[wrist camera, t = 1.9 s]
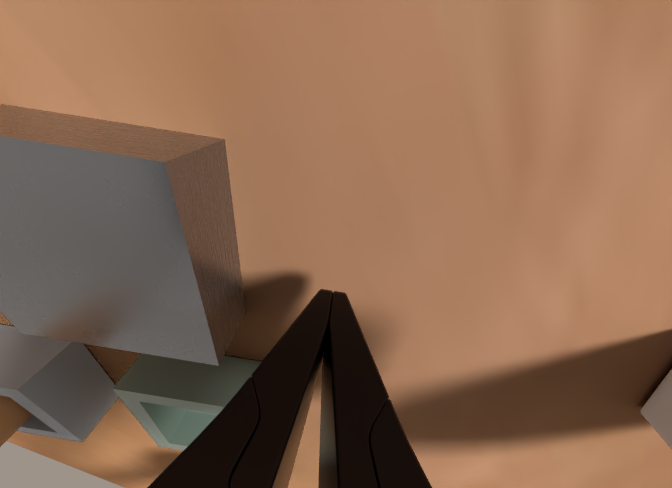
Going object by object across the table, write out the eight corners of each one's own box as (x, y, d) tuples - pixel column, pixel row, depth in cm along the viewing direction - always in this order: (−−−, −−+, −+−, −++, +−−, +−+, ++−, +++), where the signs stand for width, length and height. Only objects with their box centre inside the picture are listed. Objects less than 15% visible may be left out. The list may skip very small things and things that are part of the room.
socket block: (121, 393, 18) (83, 442, 16) (30, 378, 18) (-23, 425, 16) (77, 336, 14) (17, 390, 12) (-38, 318, 14) (-123, 367, 12)
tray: (284, 422, 18) (274, 465, 16) (181, 405, 18) (158, 446, 16) (285, 365, 14) (272, 414, 12) (149, 343, 14) (112, 388, 12)
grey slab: (248, 307, 12) (218, 365, 10) (92, 282, 12) (21, 333, 10) (229, 137, 8) (164, 162, 5) (-18, 98, 8) (-203, 103, 5)
